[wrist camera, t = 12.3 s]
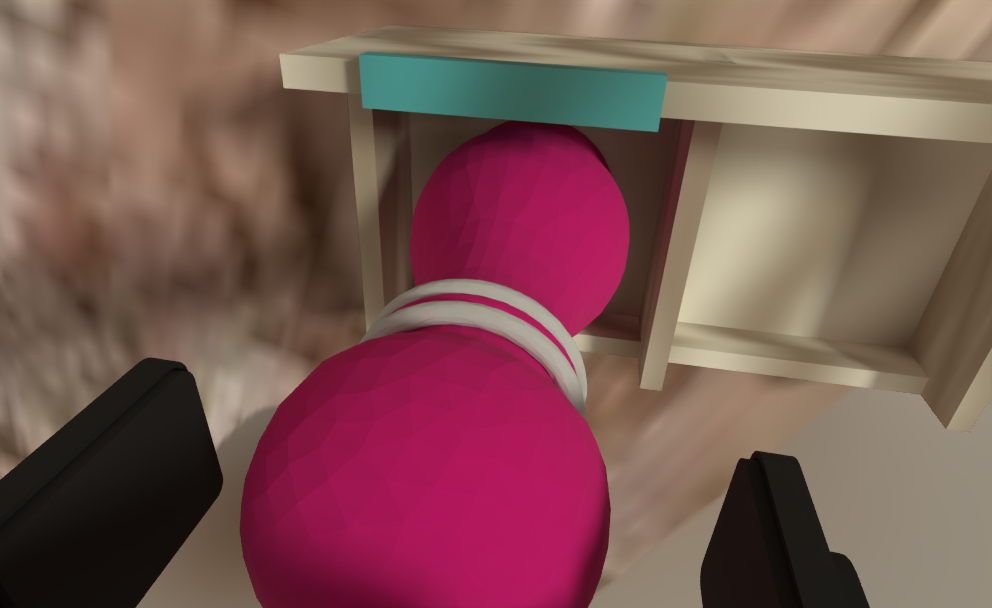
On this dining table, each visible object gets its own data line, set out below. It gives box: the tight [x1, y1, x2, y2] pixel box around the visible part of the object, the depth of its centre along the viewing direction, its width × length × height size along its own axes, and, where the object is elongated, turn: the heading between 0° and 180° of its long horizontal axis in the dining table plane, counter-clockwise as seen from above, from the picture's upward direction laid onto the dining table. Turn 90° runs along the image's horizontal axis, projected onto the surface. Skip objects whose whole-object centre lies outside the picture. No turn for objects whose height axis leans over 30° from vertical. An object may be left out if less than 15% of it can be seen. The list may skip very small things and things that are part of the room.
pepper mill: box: [240, 120, 629, 608], centre depth 15 cm, size 7×7×20 cm
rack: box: [279, 25, 992, 432], centre depth 19 cm, size 33×12×9 cm, turn 87°
